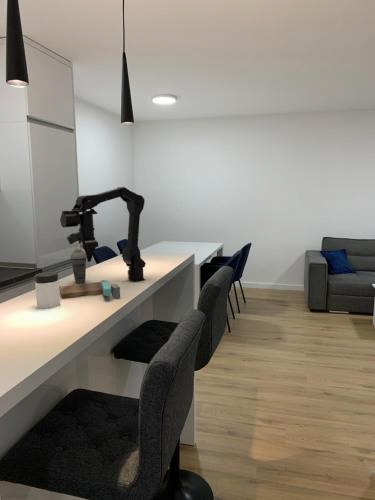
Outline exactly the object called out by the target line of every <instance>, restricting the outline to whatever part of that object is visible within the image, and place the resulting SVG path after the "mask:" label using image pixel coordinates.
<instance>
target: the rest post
mask: <svg viewBox="0 0 375 500" xmlns="http://www.w3.org/2000/svg"><path fill="white" fill-rule="evenodd" d="M110 287H111V295H110V296H111V297H112V298H113V300H115V299H116V300H117V299H121V289H120V288H121V287H120V286H119V284H117V283H114V284H110Z"/></svg>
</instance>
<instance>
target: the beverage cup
mask: <svg viewBox="0 0 375 500" xmlns="http://www.w3.org/2000/svg"><path fill="white" fill-rule="evenodd" d="M76 243H77V242H74V247H75V250H73V251H72V253H71V254H70V262H71V265H72V272H73V277H74V283H75V285H78V284H86V279H87V278H86V275H87V274H86V271H87V270H86V269H87V268H86V266H87V265H86V264H87V257H86V254H85V250H83V249H78V248H77V244H76Z"/></svg>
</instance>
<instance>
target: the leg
mask: <svg viewBox="0 0 375 500" xmlns="http://www.w3.org/2000/svg"><path fill="white" fill-rule="evenodd" d="M100 282H101V287H102V290H103V293H104V294H103V295H104V296H105V297H106V296H112V295H111V288H110V287H111V285H110V284H109V282H108V279H107V280H106V279H103V280H100Z"/></svg>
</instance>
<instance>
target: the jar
mask: <svg viewBox="0 0 375 500" xmlns="http://www.w3.org/2000/svg"><path fill="white" fill-rule="evenodd" d="M59 282H60V281H59V274H58V272H56V271H47V272H46V271H44V272H39V273H36V274H35V275H34V285H35V296H36V305H37V308H38V309H52V308H55V307H58V306H61V295H60V291H59V287H60V283H59Z"/></svg>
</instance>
